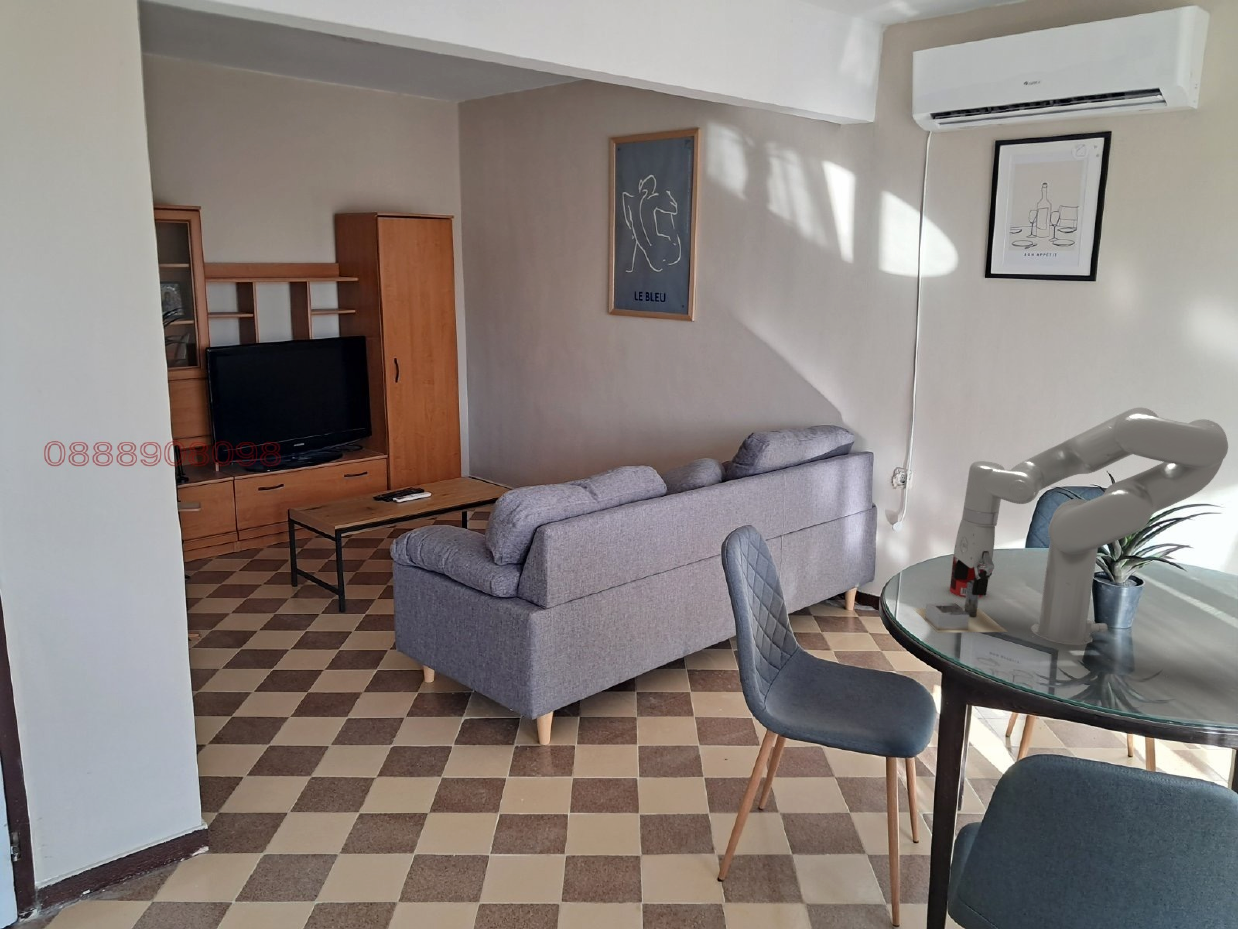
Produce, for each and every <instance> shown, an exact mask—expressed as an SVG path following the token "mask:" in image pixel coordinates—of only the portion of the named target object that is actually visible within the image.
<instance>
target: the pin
mask: <svg viewBox="0 0 1238 929" xmlns="http://www.w3.org/2000/svg"><path fill="white" fill-rule="evenodd" d="M972 587H973V580H970V581H967V590H966V597H965V602H964V608H963V609H964V611H965V612H967V613H968V614H969V617H976V616H977V609H979V608H978V607H979V598H980V597H979V595H973V594H972Z"/></svg>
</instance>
